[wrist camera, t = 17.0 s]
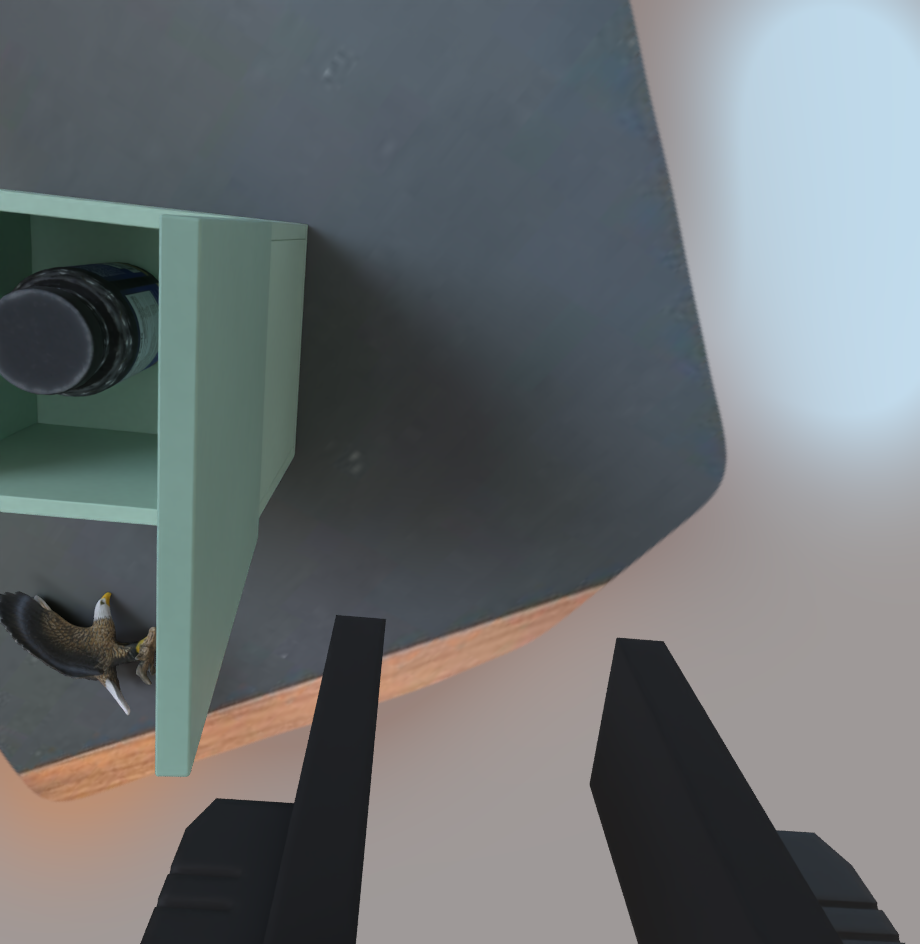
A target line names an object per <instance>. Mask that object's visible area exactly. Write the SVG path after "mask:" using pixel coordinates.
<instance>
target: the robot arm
mask: <svg viewBox="0 0 920 944" xmlns="http://www.w3.org/2000/svg"><path fill="white" fill-rule="evenodd" d="M385 622H386V619H378V618H366V617H353V616H341V615H336V619H335V623H334V628H333V632H332V637H331V641H330V646H329V650H328V654H327V659H326V663H325V668H324V672H323V677H322V681H321V686H320V690H319V695H318V699H317V704H316V708H315V713H314V717H313V722H312V726H311V731H310V735H309V740H308V744H307V749H306V753H305V758H304V762H303V766H302V771H301V775H300V780H299V785H298V789H297V793H296V798H295V802H294V803H282V802H265V801H250V800H235V799H218V798H217V799H215V800H214V801H213V802H212V803H211V804H210V806H208V807H207V808H206V809H205V810H204V812H202V813H201V814H200V815H199V816H198V817H197V818H196V819H195V820H194V821H193V822H192V823H191V824H190V825H189V826H188V827H187V828H186V830H185V832H184V835H183V838H182V840H181V842H180V845H179V847H178V850H177V852H176V855H175V857H174V860H173V863H172V865H171V870H170V874H168V875H167V878H166V880H165V883H164V885H163V888H162V891H161V893H160V895H159V898H158V904H157V907H155V908H154V911H153V913H152V916H151V918H150V921H149V923H148V926H147V928H146V931H145V933H144V936H143V938H142V941H141V943H140V944H356V936H357V926H358V915H359V904H360V893H361V882H362V871H363V861H364V849H365V839H366V828H367V817H368V805H369V795H370V785H371V784H370V783H371V774H372V763H373V752H374V740H375V731H376V720H377V708H378V698H379V687H380V676H381V666H382V655H383V644H384V633H385ZM590 788H591V791H592V794H593V798H594V801H595V804H596V807H597V811H598V814H599V817H600V820H601V824H602V827H603V830H604V834H605V837H606V840H607V843H608V847H609V850H610V853H611V856H612V860H613V863H614V866H615V869H616V873H617V876H618V879H619V883H620V886H621V889H622V892H623V896H624V899H625V902H626V906H627V909H628V912H629V915H630V919H631V922H632V925H633V928H634V932H635V935H636V938H637V941H638V944H905V943H900V941H899V934H898V932H897V931H896V930H895V928H894V927H893V925H892V924H891V922H890V921H889V919H888V918H887V916H886V915H885V913H884V912H883V911H882V910H878V908H877V902H876V900H875V899H874V898H873V896H872V894H871V893H870V891H869V890H868V888H867V887H866V886H865V884H864V883H863V881H862V880H861V878H860V877H859V875H858V874H857V872H856V871H855V869H854V868H853V867H852V865H851V864H850V863H848V862H847V861H846V860H845V859H844V858H843V857H842V856H840V855H839V854H838V853H837V852H836V851H835V850H833V849H832V848H831V847H830V846H829V845H828V844H827V843H825V842H824V841H823V840H822V839H821V838H820V837H818V836H817V835H816V834H815V833H809V832H793V831H777V830H775V828H774V826H773V824H772V823H771V821H770V820H769V818H768V816H767V814H766V813H765V811H764V809H763V808H762V806H761V804H760V803H759V801H758V799H757V798H756V796H755V794H754V793H753V791H752V789H751V787H750V786H749V784H748V783H747V781H746V779H745V778H744V776H743V774H742V772H741V771H740V769H739V767H738V766H737V764H736V762H735V761H734V759H733V757H732V756H731V754H730V752H729V751H728V749H727V747H726V745H725V744H724V742H723V740H722V739H721V737H720V735H719V734H718V732H717V730H716V729H715V727H714V725H713V724H712V722H711V720H710V719H709V717H708V715H707V714H706V712H705V710H704V708H703V707H702V705H701V703H700V702H699V700H698V699H697V697H696V695H695V693H694V692H693V690H692V688H691V687H690V685H689V683H688V682H687V680H686V678H685V677H684V675H683V673H682V671H681V670H680V668H679V666H678V665H677V663H676V661H675V660H674V658H673V656H672V655H671V653H670V651H669V650H668V648H667V646H666V645H665V643H664V642H663V641H652V640H640V639H627V638H617V639H616V644H615V650H614V655H613V660H612V666H611V672H610V677H609V682H608V688H607V693H606V698H605V704H604V710H603V714H602V720H601V726H600V731H599V736H598V741H597V747H596V753H595V758H594V763H593V769H592V774H591V779H590Z"/></svg>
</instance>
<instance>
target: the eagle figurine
mask: <svg viewBox="0 0 920 944" xmlns="http://www.w3.org/2000/svg"><path fill="white" fill-rule="evenodd" d="M110 596H111V593H109V592H108V593H106V594H105V595H104V596H103V597H102V598H101V599H100V600H99V601H98V603H97V605H96V608H95V613H94V621H93V625H92V626H91V627H78V626H75V625H72V624H70V623H69V622H67V621H66V620H64V619H63V618H62V617H61V616H59V615H58V614H57V613H55V612H53V611H52V610H51V608H50V607H49V606H48V605H47V604H46V602H45V601H44V600H43V599H42V598H41V597H40V596H39V595H36V596H35V597H34V598H32V597H30V596H28V595H26V594H24V593H22V592H15V594H12V593H9V592H6V593H4V594H0V618H1V619H0V623H1V624H2V625H3V626H5V630H6V631H7V632H8V633H9V634H10V636H11V637H12V638H13V639H14V640H15V641H16V643H17V644H19V645H21V647H22V649H24V650H26V651H27V652H29V653H30V654H31V655H33V656H35V657H36V658H37V659H38V660H40V661H42V662H43V663H44V664H45V665H47V666H49V667H50V668H52V669H55V670H56V671H58V672H59V673H61V674H63V675H65V676H68V677H71V678H75V679H79V678H85V679H88V680H90V679H91V680H95V681H96V680H99V681H100V682H101V683H102V684H103V685H104V686H105V687H106V688H107V689H108V690H109V692H110V693H111V694H112V695H113V697H114V698H115V699H116V700H117V702H118V703H119V705H120V706H121V707H122V708H123V710H124V711H125V712H126V714H127V715H129V714H130V708H129V706H128V704H127V703H126V701H125V699H124V697H123V695H122V693H121V691H120V686H119V680H118V678H117V672H116V666H117V665H119V664H123V663H125V662H128V663H129V662H133V661H139V660H141V661H140V663H139V665H138V667H137V669H136V674H137V675H138V676H139V677H140V678H141V679H142V680H143V681H144V682H145V683H146V684H148V685H151V684H152V683H151V681H150V680H149V678H148V677H147V670H148V671H149V673H150V674H151V675H154V674H155V672H156V670H155V668H154V666H153V664H154V652H155V649H156V627H151V628H150V630H149V634H148V635H147V637H145V638H144V639H142V640H141V641H137V642H134V643H119V642H117V641H116V633H115V626H114V622H113V620H112V617H111V613H110V603H109V601H110Z"/></svg>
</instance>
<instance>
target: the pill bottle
mask: <svg viewBox="0 0 920 944" xmlns="http://www.w3.org/2000/svg"><path fill="white" fill-rule="evenodd" d="M158 337H159V281H158V280H157V279H156V278H155V277H154V276H153V275H152V274H151V273H149V272H148V271H146V270H144V269H142V268H140V267H138V266H135V265H131V264H129V263H121V262H107V263H95V264H86V265H77V266H67V267H54V268H50V269H44V270H41V271H38V272H36V273H34V274H32V275H29V276H28V277H26V278H25V279H24V280H22V281H21V282H20V283H19V284H18V285H17V286H16V287H15V288H14V289H13V290H12V291H11V292H10V293H8V294H6V295H5V296H3V297H2V298H1V299H0V375H2V377H3V378H5V379H6V380H7V381H8V382H9V383H11V384H13V385H14V386H16V387H17V388H19V389H22V390H24V391H27V392H29V393H35V394H38V395H55V394H58V395H63V396H70V397H71V396H73V397H84V396H91V395H95V394H97V393H100V392H102V391H104V390H106V389H108V388H110V387H112V386H114V385H116V384H118V383H120V382H122V381H124V380H126V379H128V378H130V377H131V376H134V375H135V374H137V373H139V372H141V371H143V370H145V369H147V368H149V367H151V366H153V365H154V364H156V363H158Z"/></svg>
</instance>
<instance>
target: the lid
mask: <svg viewBox="0 0 920 944" xmlns="http://www.w3.org/2000/svg"><path fill="white" fill-rule="evenodd" d="M271 236H272V222H269V221H260V220H251V219H235V218H219V217H203V216H186V215H170V214H162V215H160V217H159V337H158V472H157V607H156V742H155V774H156V776H176V777H177V776H178V777H179V776H180V777H187V776H189V775H190V772H191V769H192V765H193V762H194V758H195V755H196V752H197V748H198V745H199V741H200V738H201V734H202V731H203V727H204V724H205V720H206V717H207V713H208V710H209V706H210V703H211V699H212V696H213V692H214V689H215V685H216V682H217V678H218V675H219V672H220V668H221V665H222V661H223V658H224V654H225V651H226V647H227V644H228V640H229V637H230V633H231V630H232V626H233V623H234V619H235V616H236V612H237V609H238V605H239V602H240V598H241V595H242V592H243V588H244V585H245V581H246V578H247V574H248V571H249V567H250V564H251V560H252V557H253V553H254V550H255V546H256V543H257V539H258V526H259V504H260V481H261V459H262V437H263V415H264V392H265V370H266V348H267V325H268V303H269V281H270V259H271Z"/></svg>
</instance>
